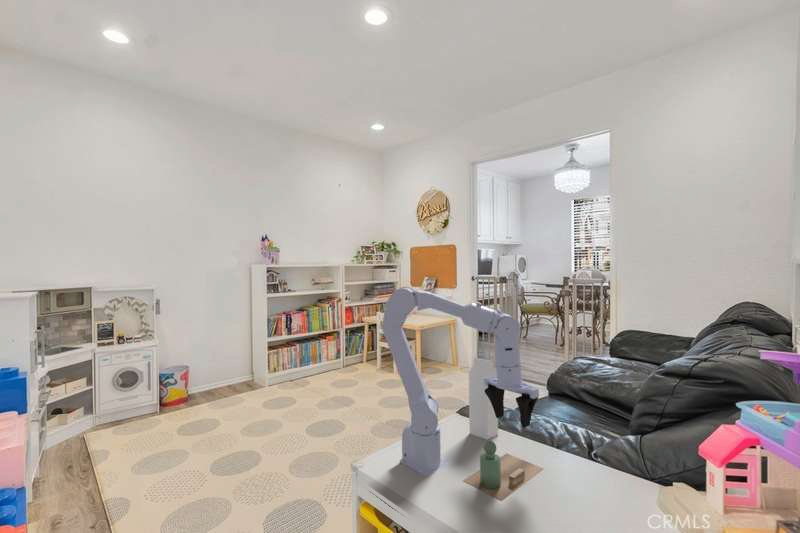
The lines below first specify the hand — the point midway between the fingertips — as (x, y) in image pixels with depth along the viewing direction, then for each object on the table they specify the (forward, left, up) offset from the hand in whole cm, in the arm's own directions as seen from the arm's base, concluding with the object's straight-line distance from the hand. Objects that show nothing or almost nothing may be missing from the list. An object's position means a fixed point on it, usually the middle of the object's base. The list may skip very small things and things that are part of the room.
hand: (512, 421), depth 90 cm
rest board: (0, -4, -12) cm, 12 cm away
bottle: (0, -10, -11) cm, 15 cm away
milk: (-16, +10, -12) cm, 22 cm away
